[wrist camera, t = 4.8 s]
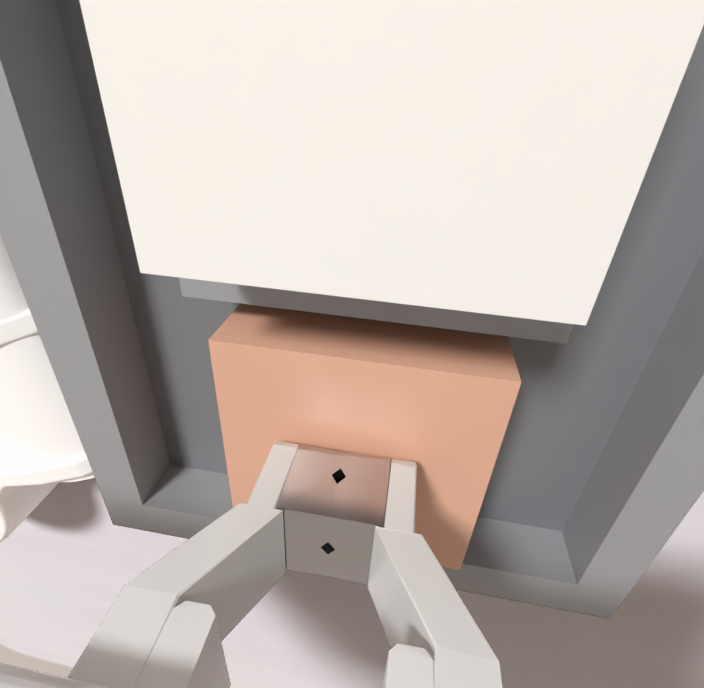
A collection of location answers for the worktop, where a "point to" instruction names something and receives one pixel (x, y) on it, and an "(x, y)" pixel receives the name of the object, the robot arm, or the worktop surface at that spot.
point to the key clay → (369, 404)
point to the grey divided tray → (223, 298)
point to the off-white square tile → (389, 141)
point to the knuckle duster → (30, 413)
